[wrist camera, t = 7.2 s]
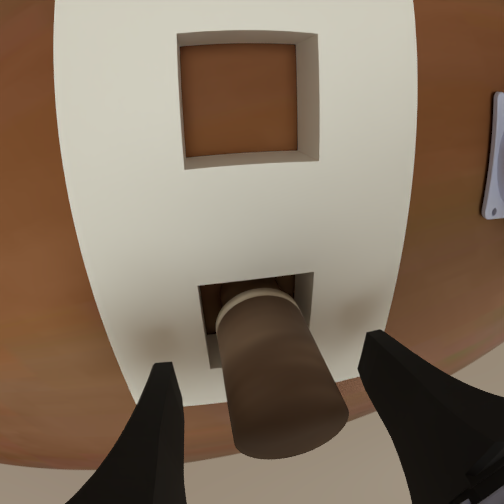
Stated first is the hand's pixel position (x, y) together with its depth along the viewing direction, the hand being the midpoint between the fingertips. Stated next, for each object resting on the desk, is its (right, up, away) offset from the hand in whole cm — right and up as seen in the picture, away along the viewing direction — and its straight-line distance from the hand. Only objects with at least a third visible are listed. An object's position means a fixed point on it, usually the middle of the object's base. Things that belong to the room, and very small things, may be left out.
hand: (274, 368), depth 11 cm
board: (-1, +7, +2) cm, 7 cm away
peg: (-1, +2, +4) cm, 5 cm away
